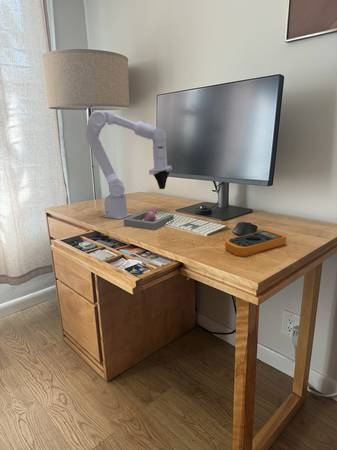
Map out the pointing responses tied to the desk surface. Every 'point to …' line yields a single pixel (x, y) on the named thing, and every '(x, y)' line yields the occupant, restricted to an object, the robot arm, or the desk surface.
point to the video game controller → (150, 215)
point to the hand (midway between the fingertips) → (162, 188)
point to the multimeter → (254, 242)
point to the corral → (140, 223)
